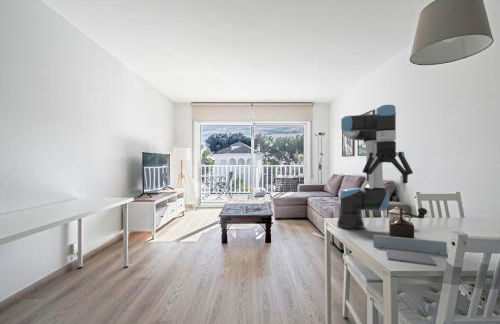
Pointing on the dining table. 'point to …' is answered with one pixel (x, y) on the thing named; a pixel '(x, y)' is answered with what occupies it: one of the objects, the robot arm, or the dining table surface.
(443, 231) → the dining table surface
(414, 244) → the low wall
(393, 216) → the teacup with lid
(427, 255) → the slate mat
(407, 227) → the coffee grinder
